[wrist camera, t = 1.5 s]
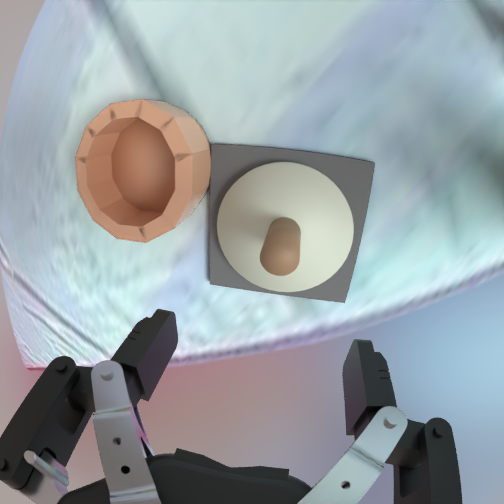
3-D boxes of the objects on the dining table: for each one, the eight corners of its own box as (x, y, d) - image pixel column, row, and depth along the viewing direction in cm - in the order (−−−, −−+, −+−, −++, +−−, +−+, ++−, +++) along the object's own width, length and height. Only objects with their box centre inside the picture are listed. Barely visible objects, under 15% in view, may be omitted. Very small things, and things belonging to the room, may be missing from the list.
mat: (373, 162, 21) (374, 163, 21) (344, 299, 27) (344, 302, 27) (213, 143, 23) (211, 144, 23) (211, 281, 29) (209, 284, 29)
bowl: (215, 100, 21) (195, 94, 17) (211, 227, 27) (193, 249, 22) (107, 109, 23) (75, 111, 18) (111, 217, 28) (83, 233, 24)
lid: (362, 172, 21) (380, 186, 16) (337, 293, 27) (343, 333, 21) (222, 156, 23) (197, 165, 18) (219, 277, 28) (200, 312, 23)
